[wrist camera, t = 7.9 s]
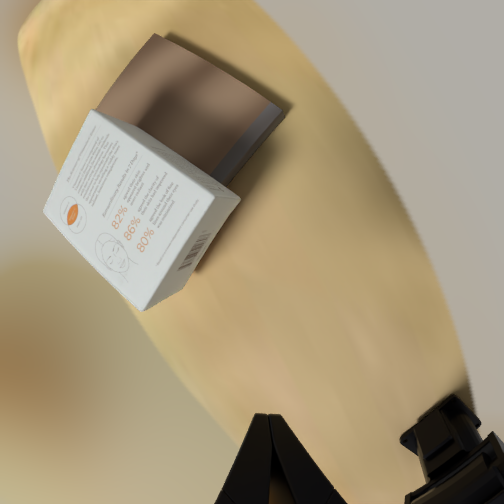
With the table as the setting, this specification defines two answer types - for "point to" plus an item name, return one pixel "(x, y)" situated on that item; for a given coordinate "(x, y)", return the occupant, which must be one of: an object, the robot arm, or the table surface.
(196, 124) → the floor panel
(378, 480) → the table surface
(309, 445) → the table surface
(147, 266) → the small box
